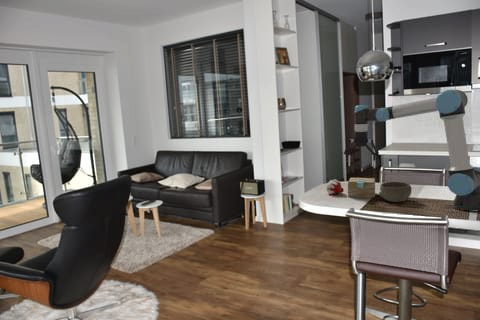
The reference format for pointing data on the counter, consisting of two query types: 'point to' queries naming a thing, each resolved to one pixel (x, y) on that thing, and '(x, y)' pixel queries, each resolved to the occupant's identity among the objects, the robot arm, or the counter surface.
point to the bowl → (395, 191)
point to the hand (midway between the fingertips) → (360, 165)
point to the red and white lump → (334, 187)
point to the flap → (361, 181)
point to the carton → (361, 190)
